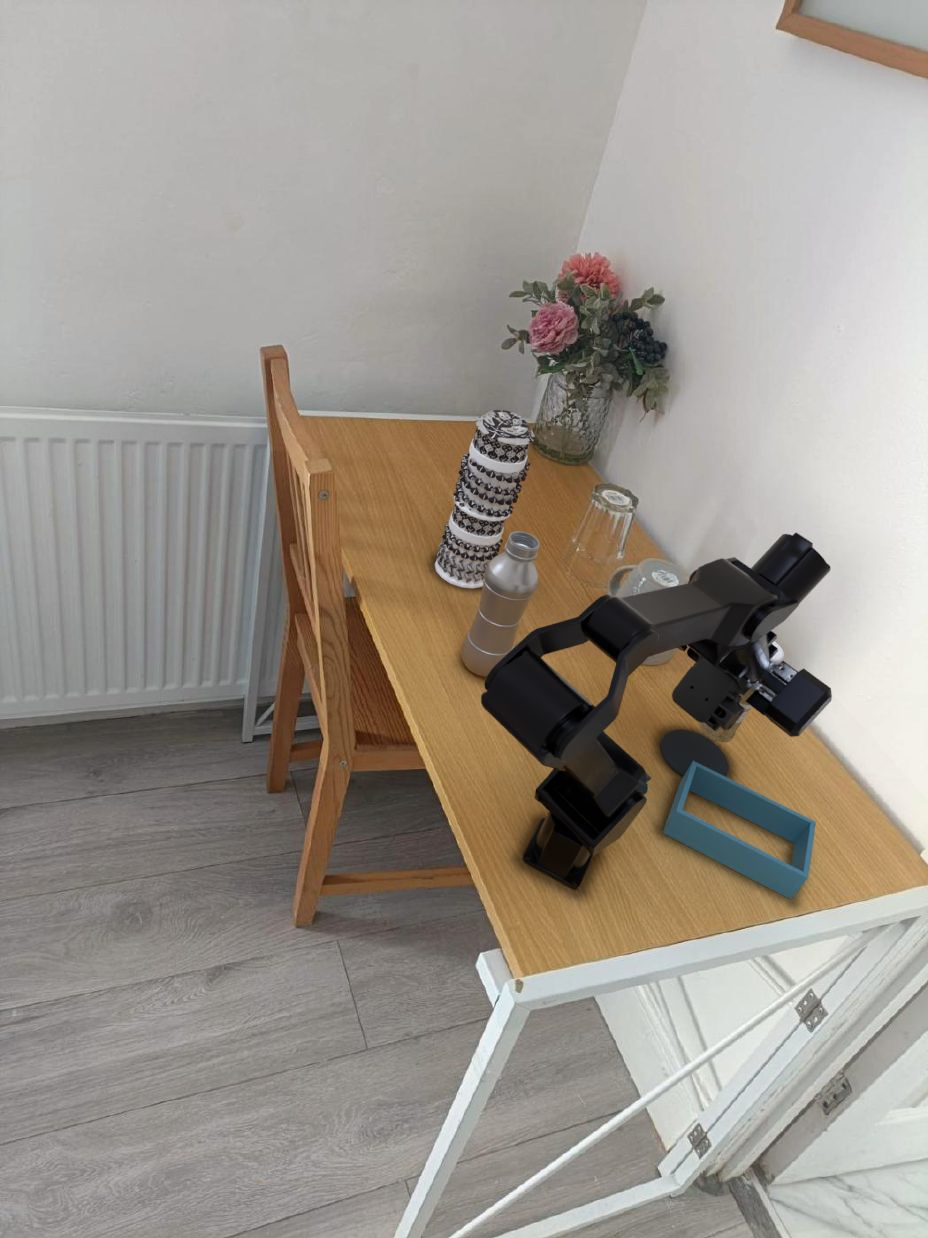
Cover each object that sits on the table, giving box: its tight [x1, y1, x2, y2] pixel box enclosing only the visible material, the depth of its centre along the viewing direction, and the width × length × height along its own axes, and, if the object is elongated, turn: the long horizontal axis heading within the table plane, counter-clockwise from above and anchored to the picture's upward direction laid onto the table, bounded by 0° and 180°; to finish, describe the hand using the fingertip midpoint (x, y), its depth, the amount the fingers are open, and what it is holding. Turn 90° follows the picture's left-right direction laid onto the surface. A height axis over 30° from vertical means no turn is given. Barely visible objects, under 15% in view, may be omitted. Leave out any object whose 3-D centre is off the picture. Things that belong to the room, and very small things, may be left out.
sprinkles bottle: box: [698, 640, 785, 743], centre depth 101 cm, size 5×5×13 cm
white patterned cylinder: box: [434, 409, 536, 589], centre depth 122 cm, size 9×9×25 cm
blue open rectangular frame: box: [662, 761, 817, 900], centre depth 100 cm, size 9×15×4 cm, turn 66°
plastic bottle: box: [460, 531, 541, 678], centre depth 108 cm, size 6×7×20 cm
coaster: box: [659, 728, 730, 778], centre depth 110 cm, size 9×9×1 cm
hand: (746, 683), depth 102 cm, fingers closed on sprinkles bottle, 4 cm apart
